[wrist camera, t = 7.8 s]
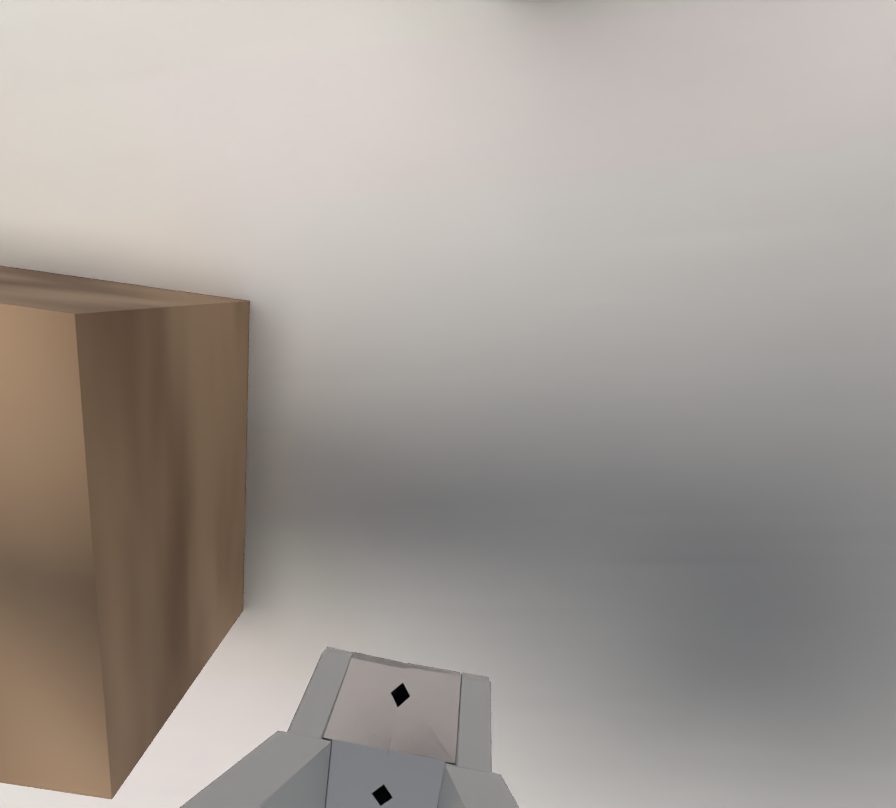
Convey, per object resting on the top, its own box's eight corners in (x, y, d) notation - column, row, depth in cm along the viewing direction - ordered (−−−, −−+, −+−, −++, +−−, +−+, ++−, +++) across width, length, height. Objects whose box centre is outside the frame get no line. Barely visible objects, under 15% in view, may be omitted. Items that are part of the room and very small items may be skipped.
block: (252, 300, 15) (74, 313, 8) (245, 607, 18) (111, 799, 11) (-45, 258, 15) (-463, 237, 8) (-2, 570, 18) (-280, 739, 11)
